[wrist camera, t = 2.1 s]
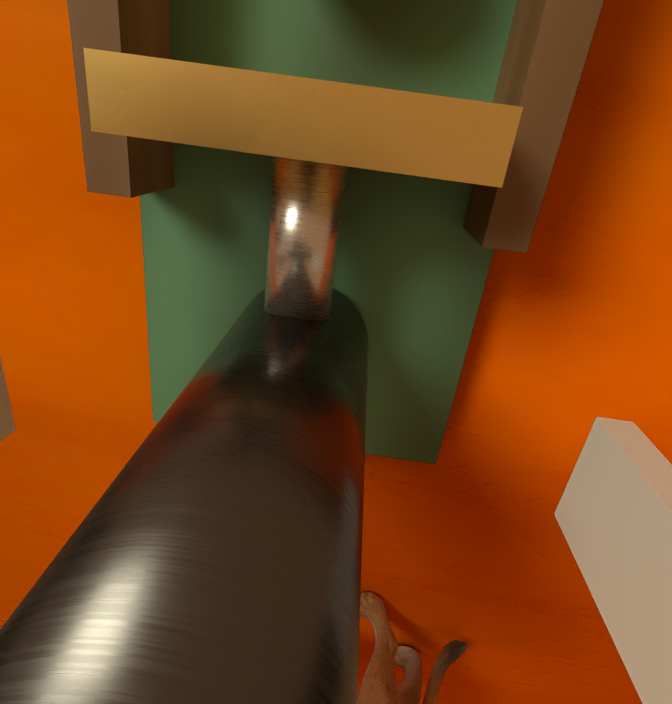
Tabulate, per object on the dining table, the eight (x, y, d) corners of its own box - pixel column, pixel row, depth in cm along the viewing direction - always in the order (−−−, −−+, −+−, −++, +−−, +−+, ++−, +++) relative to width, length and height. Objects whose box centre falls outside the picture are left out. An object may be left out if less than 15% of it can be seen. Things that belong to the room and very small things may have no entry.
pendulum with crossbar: (191, 382, 15) (-177, 872, 5) (186, 79, 11) (-1266, -371, 1) (404, 414, 15) (464, 980, 5) (470, 118, 11) (1285, -58, 1)
